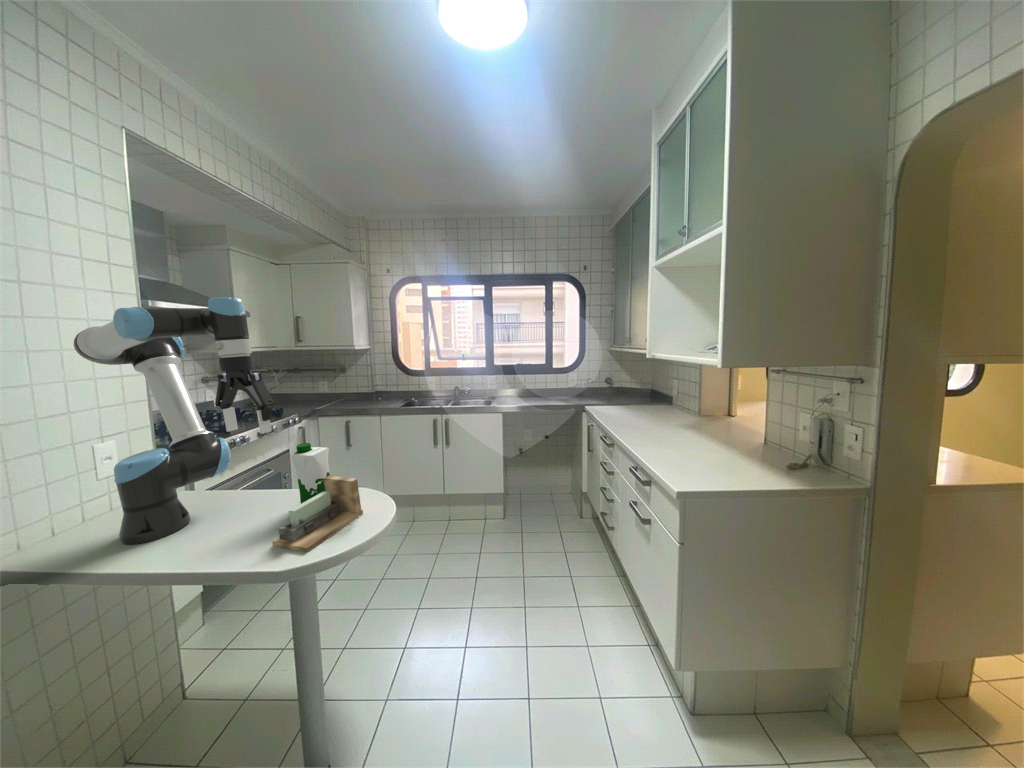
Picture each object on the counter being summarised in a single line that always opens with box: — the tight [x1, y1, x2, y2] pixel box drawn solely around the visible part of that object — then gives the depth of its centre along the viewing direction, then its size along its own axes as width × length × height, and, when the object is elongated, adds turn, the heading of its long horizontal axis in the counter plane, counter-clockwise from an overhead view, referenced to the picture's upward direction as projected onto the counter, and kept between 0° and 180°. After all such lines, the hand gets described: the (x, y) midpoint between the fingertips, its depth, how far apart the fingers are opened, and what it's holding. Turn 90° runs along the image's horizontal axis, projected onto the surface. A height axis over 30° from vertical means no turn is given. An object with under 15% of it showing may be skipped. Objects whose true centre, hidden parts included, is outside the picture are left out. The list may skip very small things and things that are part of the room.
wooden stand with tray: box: [271, 475, 364, 553], centre depth 104 cm, size 12×20×11 cm, turn 160°
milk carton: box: [290, 442, 331, 504], centre depth 120 cm, size 9×9×20 cm
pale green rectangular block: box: [288, 491, 331, 528], centre depth 105 cm, size 3×12×7 cm, turn 162°
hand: (249, 431), depth 104 cm, fingers open, 13 cm apart
